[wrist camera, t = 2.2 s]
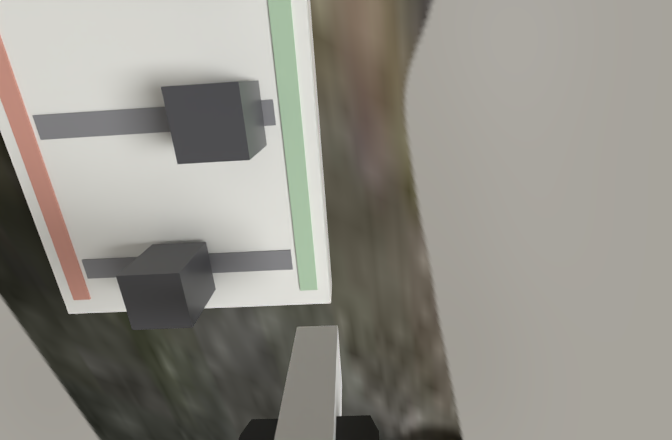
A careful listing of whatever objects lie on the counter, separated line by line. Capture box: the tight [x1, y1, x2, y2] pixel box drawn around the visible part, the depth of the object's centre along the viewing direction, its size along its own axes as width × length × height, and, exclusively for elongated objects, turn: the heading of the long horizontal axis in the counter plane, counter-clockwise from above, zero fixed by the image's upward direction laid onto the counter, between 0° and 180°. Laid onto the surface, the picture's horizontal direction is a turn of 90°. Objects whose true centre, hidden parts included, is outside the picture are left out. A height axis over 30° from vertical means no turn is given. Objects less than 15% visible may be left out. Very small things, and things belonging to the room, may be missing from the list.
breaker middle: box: [161, 80, 267, 164], centre depth 16 cm, size 3×3×4 cm
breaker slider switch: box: [116, 242, 216, 330], centre depth 19 cm, size 3×3×4 cm
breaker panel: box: [0, 0, 332, 314], centre depth 19 cm, size 22×16×2 cm
